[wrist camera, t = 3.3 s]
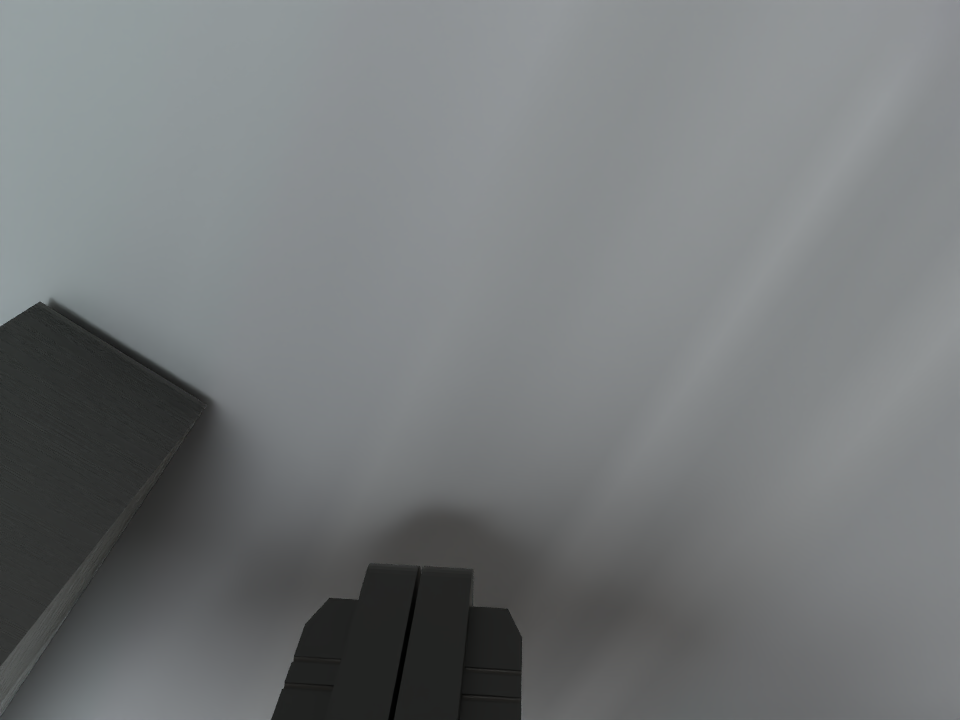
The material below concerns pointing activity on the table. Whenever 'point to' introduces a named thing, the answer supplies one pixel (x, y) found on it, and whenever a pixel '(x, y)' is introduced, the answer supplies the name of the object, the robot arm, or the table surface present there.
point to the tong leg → (70, 470)
